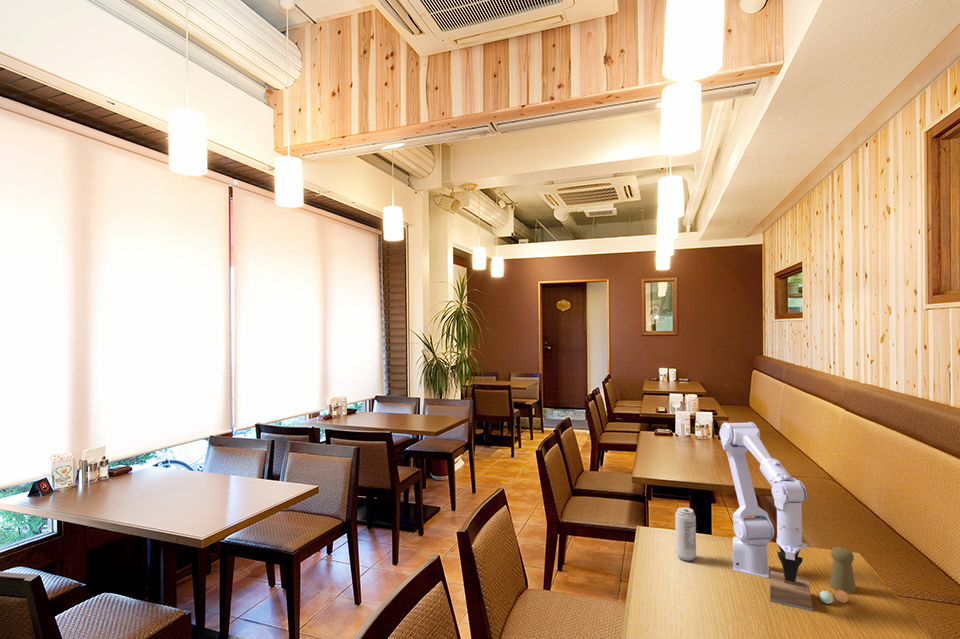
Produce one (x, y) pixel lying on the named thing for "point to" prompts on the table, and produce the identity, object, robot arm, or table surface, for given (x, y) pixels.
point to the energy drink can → (685, 533)
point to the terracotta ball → (841, 596)
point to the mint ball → (826, 597)
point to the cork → (842, 570)
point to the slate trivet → (792, 604)
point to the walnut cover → (790, 590)
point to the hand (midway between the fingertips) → (789, 575)
